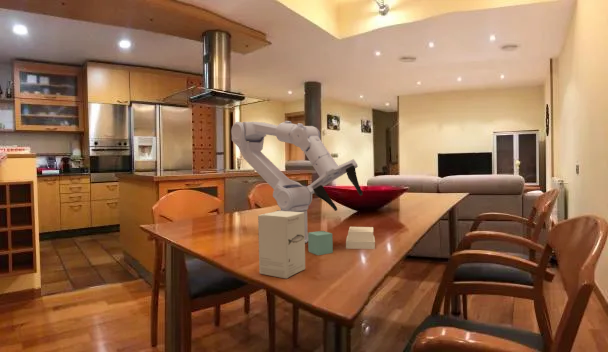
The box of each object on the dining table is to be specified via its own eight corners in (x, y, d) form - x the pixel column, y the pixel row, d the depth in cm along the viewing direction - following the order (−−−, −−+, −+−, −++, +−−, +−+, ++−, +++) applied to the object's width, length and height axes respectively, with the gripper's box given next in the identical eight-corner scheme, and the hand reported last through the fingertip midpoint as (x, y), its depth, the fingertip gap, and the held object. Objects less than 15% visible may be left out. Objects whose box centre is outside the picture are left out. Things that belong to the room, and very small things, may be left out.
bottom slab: (346, 250, 99) (345, 241, 99) (347, 243, 107) (347, 235, 106) (374, 251, 98) (374, 241, 98) (374, 244, 105) (374, 235, 105)
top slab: (348, 240, 99) (348, 231, 99) (349, 235, 106) (349, 226, 106) (373, 241, 98) (373, 231, 98) (373, 236, 105) (373, 227, 104)
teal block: (308, 251, 97) (308, 232, 97) (323, 249, 99) (322, 230, 99) (317, 255, 93) (317, 235, 93) (332, 253, 95) (332, 233, 95)
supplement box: (287, 279, 75) (285, 216, 74) (258, 274, 79) (256, 214, 78) (306, 269, 81) (305, 211, 81) (278, 265, 85) (277, 209, 85)
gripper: (296, 169, 98) (322, 212, 93) (344, 141, 99) (372, 182, 93) (301, 178, 104) (326, 219, 99) (345, 152, 105) (372, 191, 100)
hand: (348, 201), depth 97 cm, fingers open, 7 cm apart
